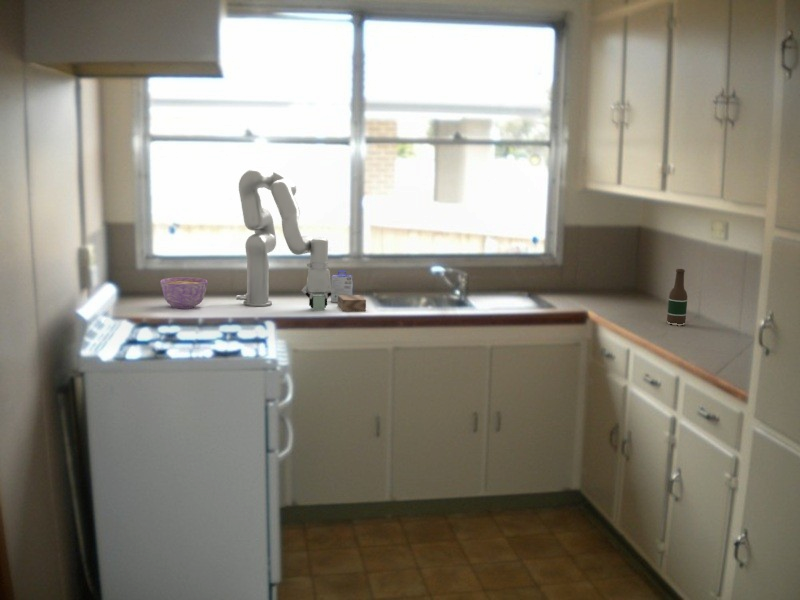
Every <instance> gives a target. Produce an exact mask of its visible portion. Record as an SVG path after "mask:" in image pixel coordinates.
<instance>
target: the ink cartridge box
mask: <svg viewBox="0 0 800 600" xmlns="http://www.w3.org/2000/svg"><path fill="white" fill-rule="evenodd" d="M342 272H343V273H342ZM353 279H354V278H353V275H350V274H347V270H345V269H344V270H343V269H342V270H341V269H339V270H338V272H337V274H333V275H331V276H330V280H331V286H332V287H333V288H334V290H335V292H334V293H332V294H331V295H330V302H331V303H338V295H353V293H354V291H353V288H354V287H353V285H354V283H353V282H354V280H353Z"/></svg>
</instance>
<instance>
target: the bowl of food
mask: <svg viewBox="0 0 800 600" xmlns="http://www.w3.org/2000/svg"><path fill="white" fill-rule="evenodd" d="M159 282H160V287H161V290H162V294H163V298H164V300H165V302H166V303H167V304H169V305H170V306H172V307H174V308H175V309H182V310H185V309H194V308H195V306H197V305H199V304H201V303H202V302H203V300H204V298H205V295H206V291H207V285H208V283H209V281H208V280H207V279H205V278H201V277H189V276H188V277H186V276H185V277H178V276H177V277H169V278H163V279H161V280H160V281H159Z"/></svg>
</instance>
